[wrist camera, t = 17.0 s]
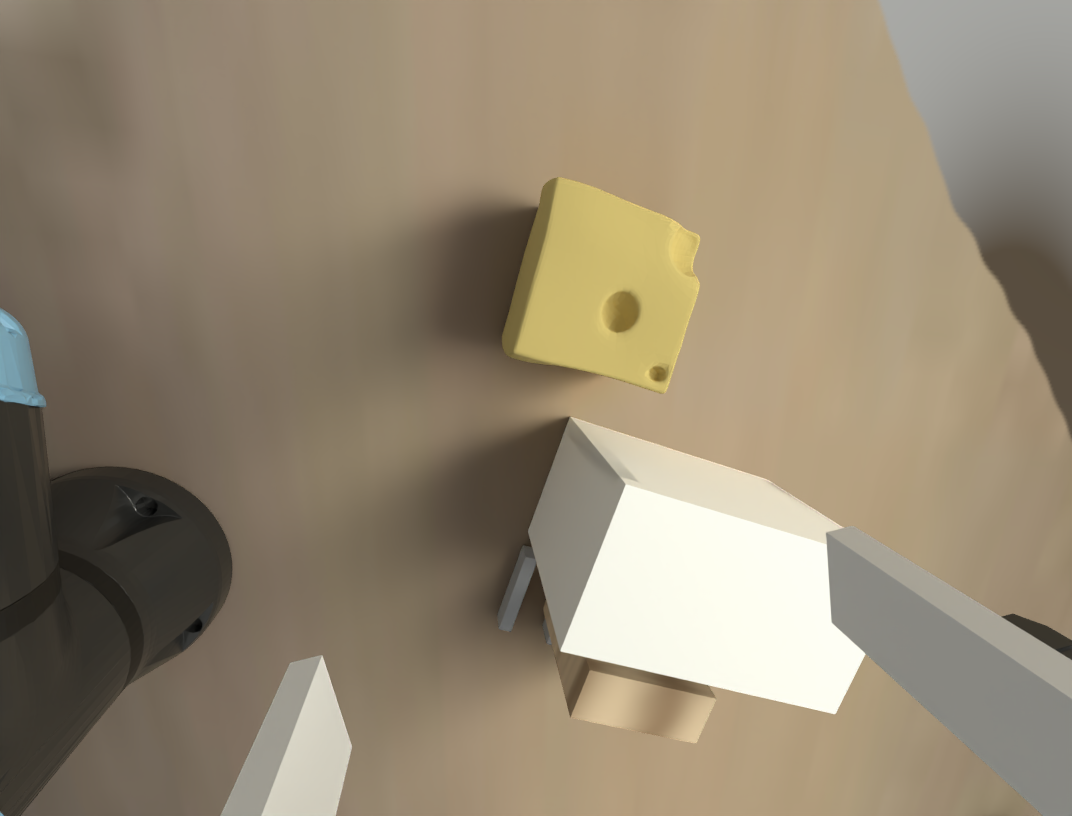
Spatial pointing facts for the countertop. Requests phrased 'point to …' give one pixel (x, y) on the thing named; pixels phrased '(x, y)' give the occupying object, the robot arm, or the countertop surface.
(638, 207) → the cheese
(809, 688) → the cabinet
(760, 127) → the countertop surface
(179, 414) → the countertop surface
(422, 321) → the countertop surface
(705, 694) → the door
